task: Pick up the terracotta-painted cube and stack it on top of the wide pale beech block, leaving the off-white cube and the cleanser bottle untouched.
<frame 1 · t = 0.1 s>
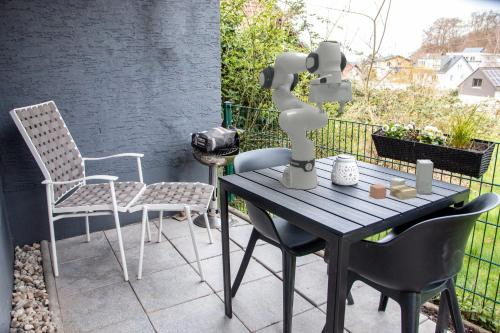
hand: (331, 112, 162), 39 cm above the table, tool pointing down, fingers open, 8 cm apart
beech base: (402, 196, 173), on the table
skincare box: (422, 192, 179), on the table
terracotta cube: (377, 197, 173), on the table
offwhite cube: (397, 189, 183), on the table
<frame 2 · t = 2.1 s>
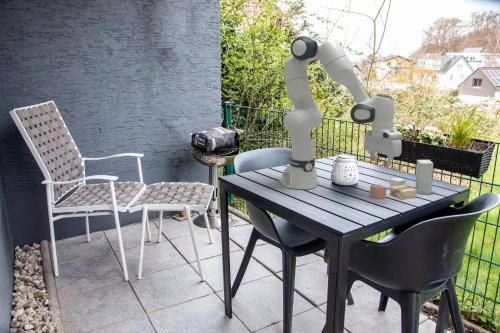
hand: (380, 162, 169), 16 cm above the table, tool pointing down, fingers open, 8 cm apart
nothing on the table moved.
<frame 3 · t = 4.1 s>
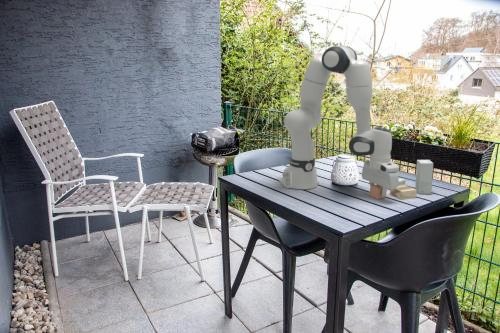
hand: (377, 193, 172), 2 cm above the table, tool pointing down, fingers closed on terracotta cube, 5 cm apart
terracotta cube: (377, 196, 173), on the table, touching gripper
everything else where it was.
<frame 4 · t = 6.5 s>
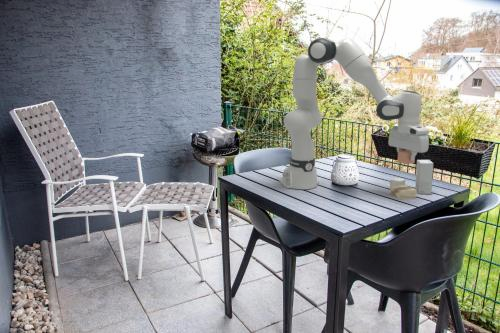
hand: (406, 158, 169), 17 cm above the table, tool pointing down, fingers closed on terracotta cube, 5 cm apart
terracotta cube: (405, 162, 169), point 16 cm above the table, touching gripper
everything else where it was.
when the fingers open (7 cm above the table, at t = 8.9 s): terracotta cube drops 1 cm, resting on beech base.
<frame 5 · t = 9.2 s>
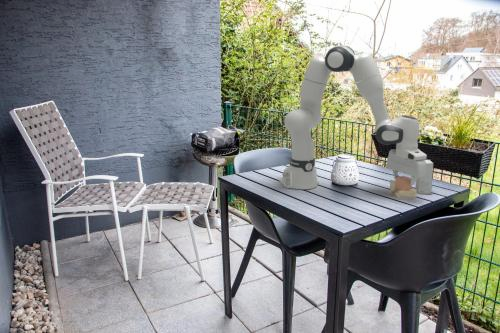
hand: (403, 182, 172), 7 cm above the table, tool pointing down, fingers open, 8 cm apart
beech base: (402, 196, 173), on the table, touching terracotta cube
terracotta cube: (403, 188, 172), point 4 cm above the table, touching beech base
everything else where it was.
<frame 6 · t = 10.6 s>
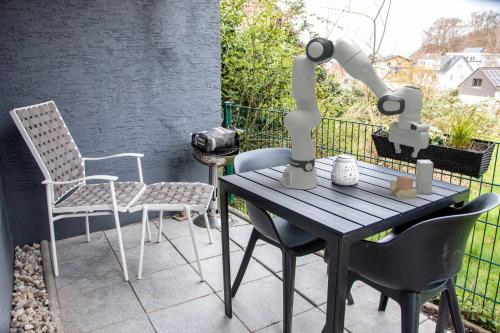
hand: (405, 154, 169), 19 cm above the table, tool pointing down, fingers open, 8 cm apart
nothing on the table moved.
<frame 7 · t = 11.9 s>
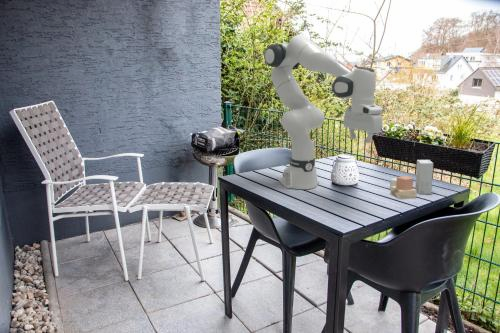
hand: (360, 140, 160), 27 cm above the table, tool pointing down, fingers open, 8 cm apart
nothing on the table moved.
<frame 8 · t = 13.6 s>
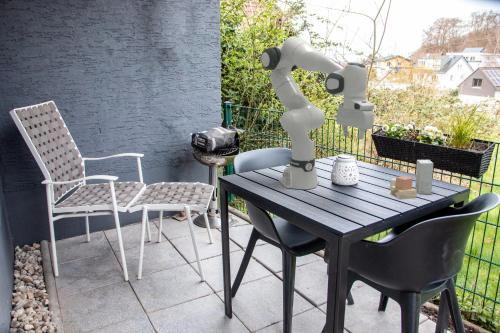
hand: (352, 137, 158), 29 cm above the table, tool pointing down, fingers open, 8 cm apart
nothing on the table moved.
at the end: terracotta cube 0.4 cm off-centre on the beech base, point 4.0 cm above the beech base's base; terracotta cube tilted 0°; the gripper is holding nothing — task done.
